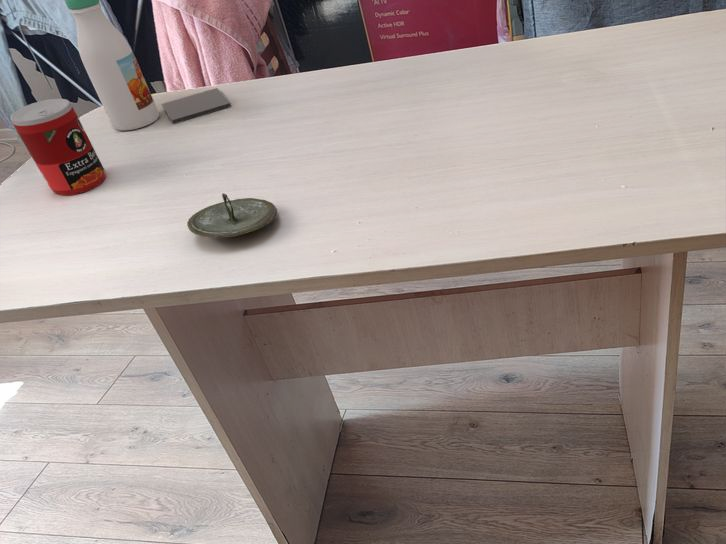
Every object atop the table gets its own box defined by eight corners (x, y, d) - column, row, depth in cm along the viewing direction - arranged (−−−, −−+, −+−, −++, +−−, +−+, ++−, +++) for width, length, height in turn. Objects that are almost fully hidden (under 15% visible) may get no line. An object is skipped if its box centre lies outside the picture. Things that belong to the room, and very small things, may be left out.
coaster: (173, 123, 112) (171, 120, 112) (162, 107, 119) (161, 103, 119) (231, 106, 115) (230, 102, 115) (218, 91, 122) (216, 87, 122)
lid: (188, 262, 80) (169, 232, 76) (206, 203, 86) (189, 172, 82) (274, 257, 80) (260, 227, 75) (287, 198, 85) (275, 167, 81)
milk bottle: (131, 134, 111) (70, 2, 97) (104, 128, 114) (42, 0, 101) (169, 115, 115) (115, -13, 102) (142, 110, 119) (86, -15, 106)
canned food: (81, 198, 94) (39, 122, 87) (39, 194, 97) (-5, 120, 90) (119, 172, 99) (82, 98, 92) (78, 169, 102) (40, 97, 95)
